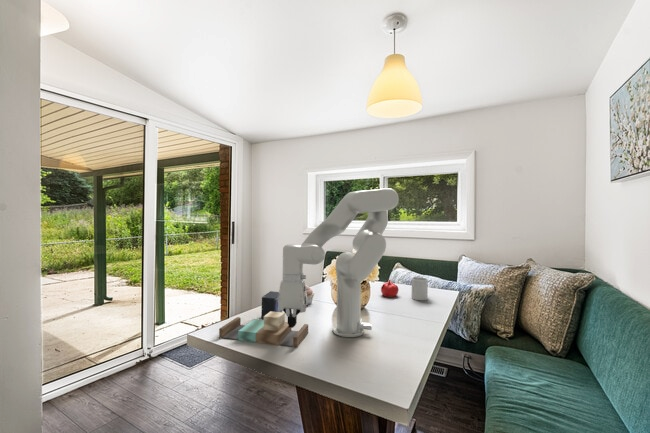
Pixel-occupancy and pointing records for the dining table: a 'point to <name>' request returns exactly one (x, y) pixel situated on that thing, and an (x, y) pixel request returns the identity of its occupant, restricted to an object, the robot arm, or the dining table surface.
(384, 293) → the pomegranate
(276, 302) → the small box
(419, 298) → the mug
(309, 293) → the cupcake
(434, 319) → the dining table surface
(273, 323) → the beech block
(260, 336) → the board
